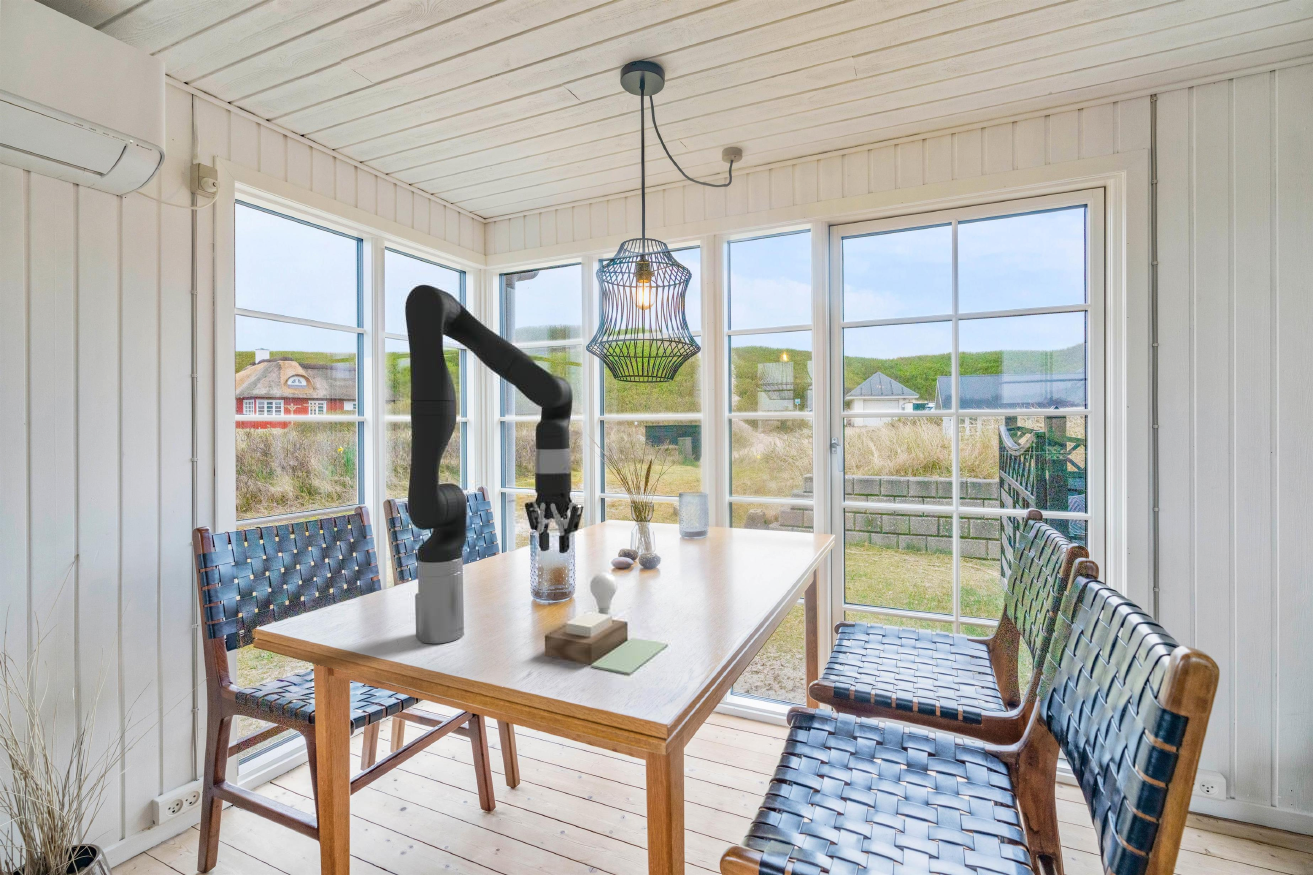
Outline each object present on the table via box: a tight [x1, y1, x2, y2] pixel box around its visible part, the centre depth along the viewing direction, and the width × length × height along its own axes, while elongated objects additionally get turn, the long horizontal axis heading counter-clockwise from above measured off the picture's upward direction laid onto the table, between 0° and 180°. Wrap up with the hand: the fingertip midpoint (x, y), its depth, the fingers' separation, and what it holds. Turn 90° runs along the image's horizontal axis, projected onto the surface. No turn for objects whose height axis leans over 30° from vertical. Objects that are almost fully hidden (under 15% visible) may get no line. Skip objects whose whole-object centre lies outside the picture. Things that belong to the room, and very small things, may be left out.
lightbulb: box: [589, 571, 618, 615], centre depth 142 cm, size 6×6×11 cm
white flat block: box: [565, 611, 613, 637], centre depth 123 cm, size 6×8×2 cm
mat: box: [590, 637, 669, 676], centre depth 119 cm, size 8×16×1 cm, turn 153°
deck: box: [544, 619, 629, 666], centre depth 124 cm, size 11×14×4 cm
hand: (554, 551), depth 127 cm, fingers open, 4 cm apart
